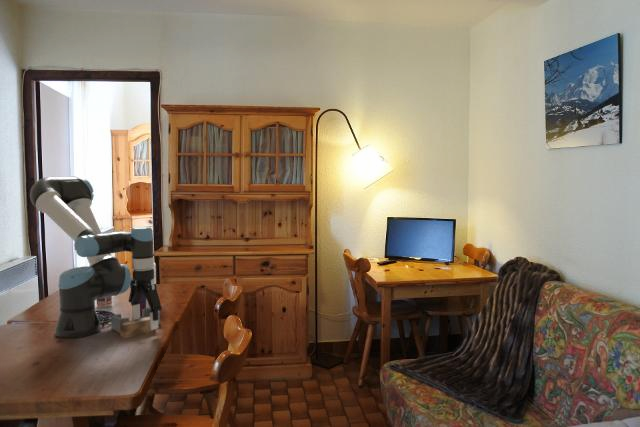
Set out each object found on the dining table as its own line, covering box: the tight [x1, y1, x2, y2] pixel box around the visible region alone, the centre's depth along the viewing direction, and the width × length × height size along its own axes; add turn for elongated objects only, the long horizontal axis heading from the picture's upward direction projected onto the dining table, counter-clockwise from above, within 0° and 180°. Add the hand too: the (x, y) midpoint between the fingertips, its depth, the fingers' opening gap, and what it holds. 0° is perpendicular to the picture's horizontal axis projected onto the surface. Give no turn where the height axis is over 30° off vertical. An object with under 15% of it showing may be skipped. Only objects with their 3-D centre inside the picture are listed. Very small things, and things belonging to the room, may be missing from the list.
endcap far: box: [141, 308, 161, 325], centre depth 196 cm, size 4×7×5 cm, turn 47°
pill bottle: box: [96, 296, 113, 308], centre depth 219 cm, size 6×6×11 cm
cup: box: [129, 278, 146, 317], centre depth 206 cm, size 7×7×15 cm
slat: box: [119, 316, 157, 339], centre depth 183 cm, size 12×4×5 cm, turn 138°
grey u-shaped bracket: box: [110, 313, 130, 334], centre depth 187 cm, size 4×7×5 cm, turn 47°
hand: (145, 325), depth 185 cm, fingers open, 13 cm apart
